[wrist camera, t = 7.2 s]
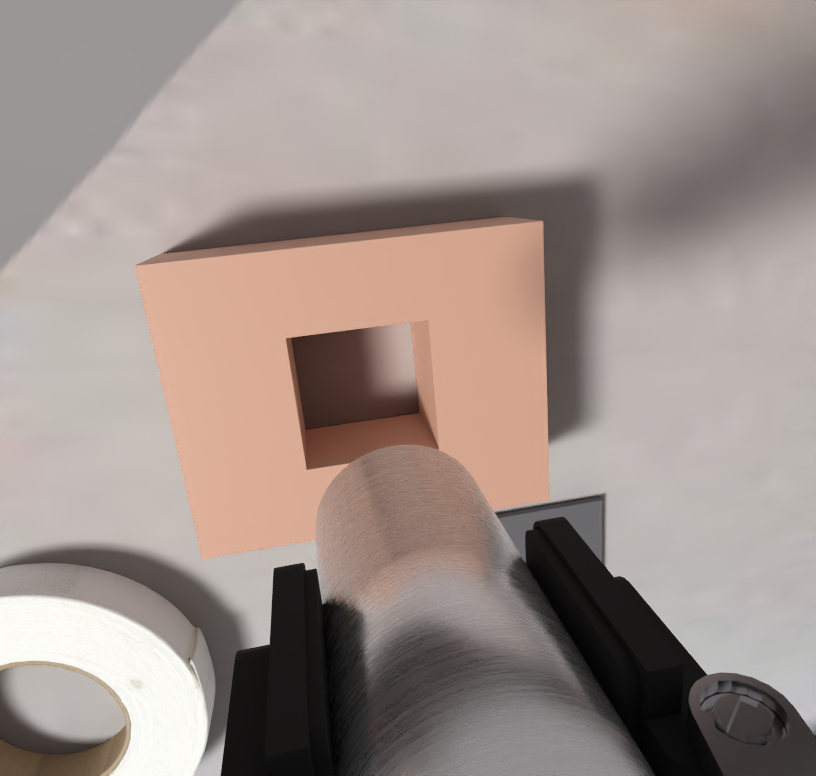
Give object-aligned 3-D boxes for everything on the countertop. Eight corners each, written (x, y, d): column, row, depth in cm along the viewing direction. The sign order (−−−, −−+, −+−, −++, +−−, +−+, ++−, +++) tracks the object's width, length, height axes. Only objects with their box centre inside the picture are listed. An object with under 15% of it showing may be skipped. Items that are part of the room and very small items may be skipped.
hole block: (506, 216, 28) (543, 220, 24) (516, 458, 32) (549, 500, 27) (161, 253, 26) (134, 265, 22) (216, 506, 30) (202, 559, 26)
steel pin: (479, 432, 14) (1180, 1369, 3) (487, 579, 16) (997, 1614, 4) (303, 459, 14) (349, 1733, 2) (328, 609, 15) (431, 1885, 4)
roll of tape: (58, 847, 35) (38, 902, 32) (-188, 687, 30) (-237, 737, 27) (277, 689, 34) (275, 732, 31) (64, 497, 29) (40, 528, 26)
